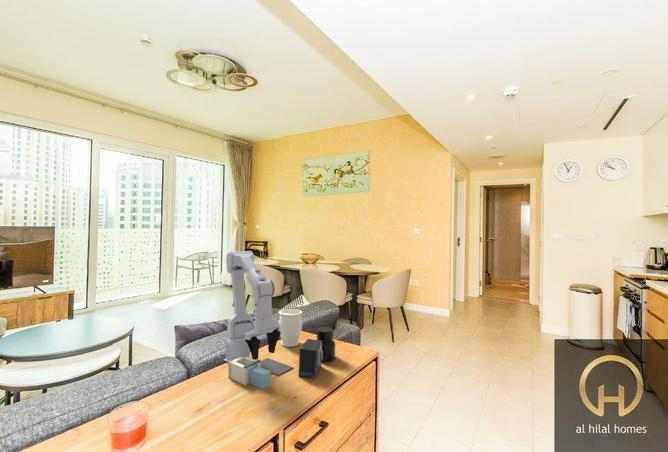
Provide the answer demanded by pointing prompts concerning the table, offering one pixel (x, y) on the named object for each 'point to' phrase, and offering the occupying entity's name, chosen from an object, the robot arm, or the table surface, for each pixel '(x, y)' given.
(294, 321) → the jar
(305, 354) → the small box
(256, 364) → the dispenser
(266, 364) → the mat
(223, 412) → the table surface
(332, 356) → the ink bottle
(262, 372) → the slab
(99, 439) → the table surface
